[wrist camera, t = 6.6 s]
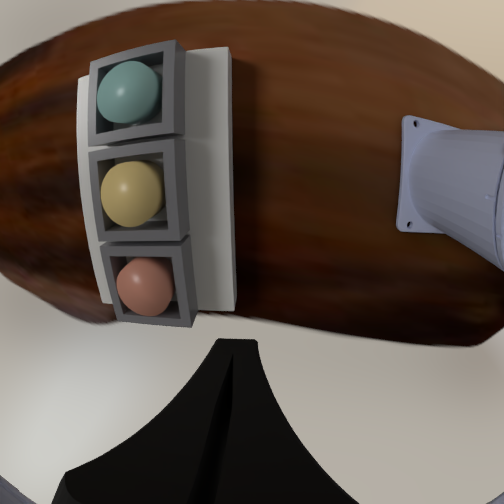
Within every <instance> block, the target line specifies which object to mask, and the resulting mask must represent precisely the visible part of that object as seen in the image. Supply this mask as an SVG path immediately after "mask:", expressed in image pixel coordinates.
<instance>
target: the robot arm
mask: <svg viewBox="0 0 504 504" xmlns="http://www.w3.org/2000/svg"><path fill="white" fill-rule="evenodd" d="M414 121H415V122H416V123H417V126H416V127H415V126H414V124H413V123H414ZM408 222H410V226H409V227H407V223H408ZM396 227H397V229H399V230H400V231H402V232H424V233H445V234H447V235H449V236H450V237H452V238H454V239H455V240H457V241H459V242H460V243H462V244H464V245H465V246H467V247H468V248H470V249H471V250H473V251H475V252H476V253H478V254H479V255H481V256H482V257H484V258H485V259H487V260H488V261H490V262H491V263H493V264H494V265H495V266H497V267H498V268H500V269H501V270H503V271H504V132H503V131H486V130H461V129H458V128H455V127H451V126H448V125H445V124H441V123H438V122H434V121H430V120H427V119H423V118H419V117H414V116H410V115H408V116H404V117H403V119H402V158H401V177H400V190H399V201H398V211H397V219H396ZM0 504H36V503H35V502H33V501H31V500H30V499H29V498H27V497H26V496H25V495H23V494H22V493H20V492H19V490H18V489H17V488H15V487H14V486H13V485H12V484H10V483H9V482H8V481H7V480H5V479H4V478H3V477H2V476H0ZM52 504H359V503H358V502H357V501H355V500H354V499H353V498H352V497H351V496H350V495H348V494H347V493H346V492H345V491H344V490H343V489H342V488H341V487H340V486H339V485H338V484H337V483H336V482H335V481H334V480H333V479H332V478H331V477H330V476H329V475H328V474H327V473H326V472H325V471H324V470H323V469H322V467H321V466H320V465H319V464H318V463H317V461H316V460H315V459H314V458H313V457H312V455H311V454H310V453H309V451H308V450H307V449H306V448H305V446H304V445H303V444H302V442H301V441H300V439H299V438H298V436H297V435H296V434H295V432H294V431H293V429H292V427H291V426H290V424H289V423H288V421H287V419H286V417H285V416H284V414H283V412H282V410H281V408H280V407H279V405H278V403H277V401H276V399H275V397H274V395H273V393H272V390H271V388H270V385H269V383H268V380H267V378H266V375H265V372H264V370H263V366H262V363H261V360H260V356H259V351H258V342H257V341H256V340H255V339H222V338H219V339H217V340H216V341H215V343H214V345H213V346H212V348H211V350H210V352H209V353H208V355H207V356H206V358H205V359H204V361H203V362H202V363H201V365H200V366H199V368H198V369H197V370H196V372H195V373H194V375H193V376H192V377H191V379H190V380H189V381H188V382H187V383H186V385H185V386H184V387H183V388H182V389H181V391H180V392H179V393H178V394H177V395H176V396H175V397H174V398H173V400H172V401H171V402H170V403H169V404H168V405H167V406H166V407H165V408H164V409H163V410H162V411H161V412H160V413H159V414H158V415H156V416H155V417H154V418H153V419H152V420H151V421H150V422H149V423H148V424H146V425H145V426H144V427H143V428H141V429H140V430H139V431H138V432H136V433H135V434H134V435H132V436H131V437H130V438H128V439H127V440H125V441H124V442H122V443H121V444H119V445H118V446H116V447H114V448H113V449H111V450H110V451H108V452H106V453H105V454H103V455H102V456H99V457H98V458H96V459H94V460H92V461H90V462H87V463H85V464H83V465H81V466H79V467H76V468H74V469H72V470H69V471H67V472H65V474H64V476H63V478H62V479H61V481H60V483H59V486H58V489H57V491H56V493H55V496H54V499H53V501H52ZM487 504H504V492H503V493H502V494H500V495H499V496H498V497H497V498H495V499H494V500H492V501H491V502H489V503H487Z"/></svg>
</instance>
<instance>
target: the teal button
mask: <svg viewBox="0 0 504 504" xmlns="http://www.w3.org/2000/svg"><path fill="white" fill-rule="evenodd" d="M162 81H163V77H162V76H161V75H160V74H159V73H157V72H156V71H154V70H152V69H151V68H149V67H148V66H146V65H145V64H143V63H141V62H137V61H128V62H124V63H121V64H119V65H117V66H116V67H114V68H113V69H111V70H110V71H109V72H108V73H107V74H106V76H105V77H104V78H103V80H102V82H101V84H100V86H99V89H98V93H97V105H98V109H99V111H100V113H101V114H102V116H103V117H104V118H106V119H107V120H109V121H111V122H116V123H124V124H132V125H137V124H142V123H145V122H147V121H149V120H151V119H152V118H153V117H155V116H156V115H157V114H158V112H159V111H160V110H161V108H162Z"/></svg>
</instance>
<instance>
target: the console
mask: <svg viewBox="0 0 504 504" xmlns="http://www.w3.org/2000/svg"><path fill="white" fill-rule="evenodd" d="M128 61H137V62H141V63H143V64H145V65H146V66H148V67H149V68H151V69H152V70H154V71H156V72H157V73H159V74H160V75H161V76H162V77H163V81H162V108H161V110H160V111H159V112H158V114H157V115H156V116H155V117H153V118H152V119H151V120H149V121H147V122H145V123H142V124H137V125H132V124H124V123H116V122H111V121H109V120H107V119H106V118H104V117H103V116H102V114H101V113H100V111H99V109H98V105H97V93H98V89H99V86H100V84H101V82H102V80H103V78H104V77H105V76H106V74H107V73H108V72H109V71H110V70H111V69H113V68H114V67H116V66H117V65H119V64H121V63H124V62H128ZM77 153H78V169H79V181H80V191H81V199H82V207H83V214H84V221H85V227H86V233H87V238H88V244H89V249H90V254H91V258H92V263H93V267H94V271H95V276H96V280H97V284H98V287H99V291H100V295H101V298H102V302H103V303H109V304H113V306H114V310H115V313H116V317H117V320H118V321H122V322H131V323H141V324H151V325H163V326H175V327H190V328H191V327H192V325H193V322H194V320H195V317H196V315H197V312H198V310H214V311H234V309H235V303H236V298H237V288H236V262H235V232H234V197H233V149H232V57H231V54H230V51H229V49H228V47H219V48H208V49H199V50H191V51H185V50H184V49H183V47H182V46H181V45H180V44H179V43H178V42H177V41H176V40H170V41H165V42H160V43H155V44H151V45H146V46H142V47H138V48H134V49H130V50H127V51H123V52H120V53H116V54H113V55H110V56H107V57H104V58H101V59H98V60H95V61H92V62H91V63H90V74H89V75H87V76H85V77H82V78H79V81H78V96H77ZM137 160H148V161H151V162H154V163H155V164H157V165H158V166H159V167H160V168H161V169H162V170H163V171H164V182H165V197H166V205H165V206H164V208H163V209H162V210H161V211H160V212H159V213H158V214H156V215H155V216H153V217H152V218H150V219H149V220H147V221H146V222H144V223H143V224H141V225H139V226H136V227H124V226H121V225H119V224H117V223H115V222H114V221H113V220H112V219H111V218H110V217H109V216H108V215H107V213H106V212H105V210H104V208H103V205H102V201H101V186H102V182H103V180H104V177H105V176H106V174H107V173H108V171H109V170H110V169H111V168H113V167H114V166H116V165H117V164H120V163H124V162H130V161H137ZM136 256H138V257H166V258H167V259H168V260H169V261H170V262H171V263H172V265H173V272H174V279H175V286H176V292H175V294H174V295H173V297H172V299H171V301H170V302H169V304H168V306H167V308H166V309H165V310H164V311H163V312H162V313H160V314H158V315H156V316H143V315H140V314H137V313H135V312H134V311H132V310H131V309H129V308H128V307H127V306H126V305H125V304H124V302H123V301H122V300H121V298H120V296H119V294H118V291H117V277H118V275H119V273H120V271H121V270H122V269H123V268H124V267H125V266H126V265H127V264H128V263H129V262H130V261H132V260H133V259H134V258H135V257H136Z"/></svg>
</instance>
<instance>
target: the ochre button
mask: <svg viewBox="0 0 504 504" xmlns="http://www.w3.org/2000/svg"><path fill="white" fill-rule="evenodd" d="M101 201H102V205H103V208H104V210H105V212H106V213H107V215H108V216H109V217H110V218H111V219H112V220H113V221H114V222H115V223H117V224H119V225H121V226H124V227H136V226H139V225H141V224H143V223H144V222H146V221H147V220H149V219H150V218H152V217H153V216H155V215H156V214H158V213H159V212H160V211H161V210H162V209H163V208H164V206H165V205H166V197H165V182H164V171H163V170H162V169H161V168H160V167H159V166H158V165H157V164H155V163H154V162H151V161H148V160H137V161H130V162H124V163H120V164H117V165H116V166H114V167H113V168H111V169H110V170H109V171H108V173H107V174H106V176H105V177H104V180H103V182H102V186H101Z"/></svg>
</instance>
